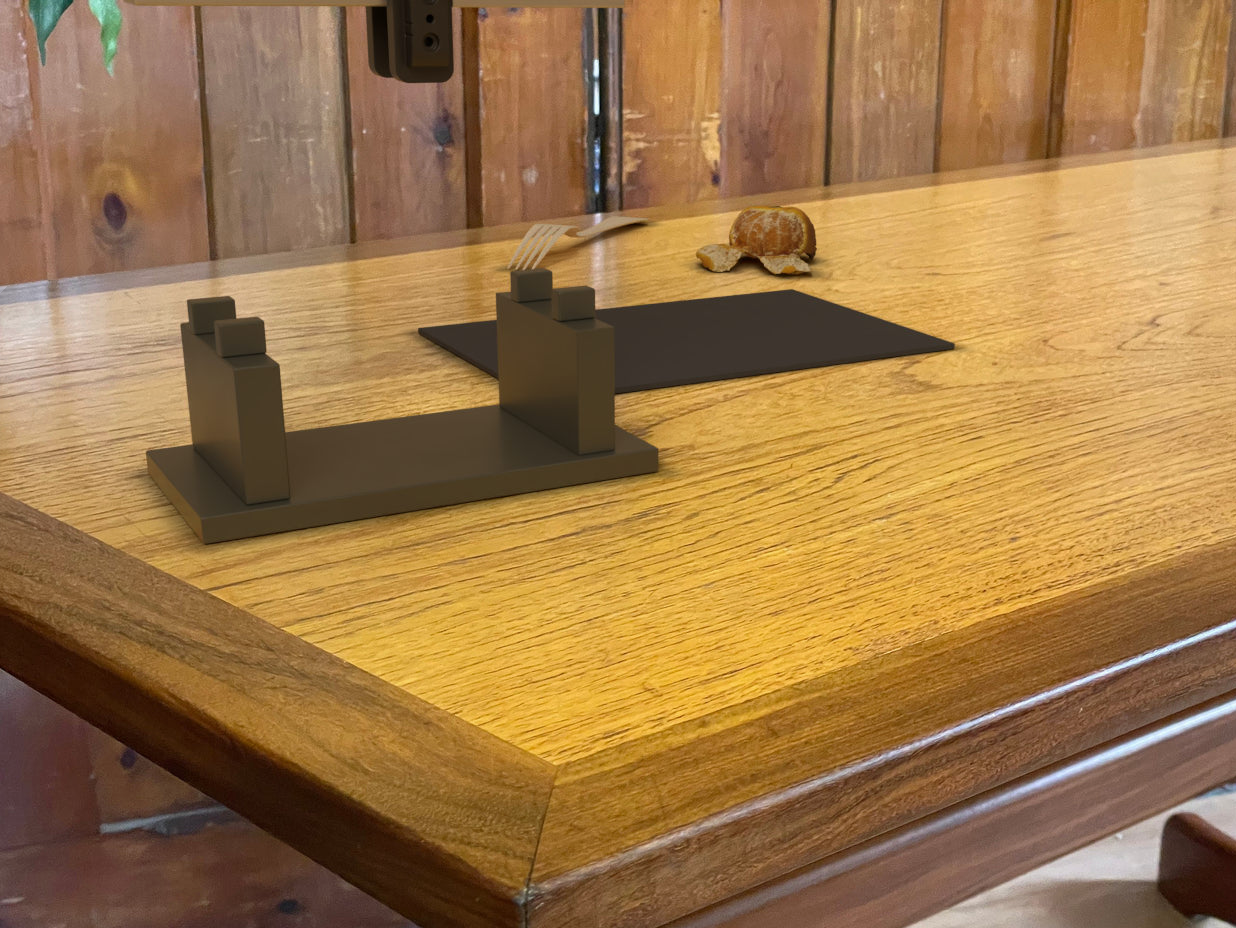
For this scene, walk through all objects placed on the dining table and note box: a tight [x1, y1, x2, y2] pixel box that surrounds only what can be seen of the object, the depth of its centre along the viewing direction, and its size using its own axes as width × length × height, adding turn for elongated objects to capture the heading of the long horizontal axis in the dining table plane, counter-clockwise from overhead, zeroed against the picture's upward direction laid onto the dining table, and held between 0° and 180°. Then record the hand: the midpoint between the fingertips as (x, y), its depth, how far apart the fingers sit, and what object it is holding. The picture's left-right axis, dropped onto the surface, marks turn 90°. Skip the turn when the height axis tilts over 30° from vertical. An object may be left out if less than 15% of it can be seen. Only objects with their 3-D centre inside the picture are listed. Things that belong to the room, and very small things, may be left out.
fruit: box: [695, 205, 818, 275], centre depth 107 cm, size 8×8×4 cm
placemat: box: [417, 288, 956, 395], centre depth 86 cm, size 24×16×1 cm, turn 120°
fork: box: [506, 215, 650, 271], centre depth 113 cm, size 3×21×3 cm, turn 162°
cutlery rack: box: [145, 267, 659, 545], centre depth 63 cm, size 18×9×7 cm, turn 120°
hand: (411, 77), depth 59 cm, fingers closed
